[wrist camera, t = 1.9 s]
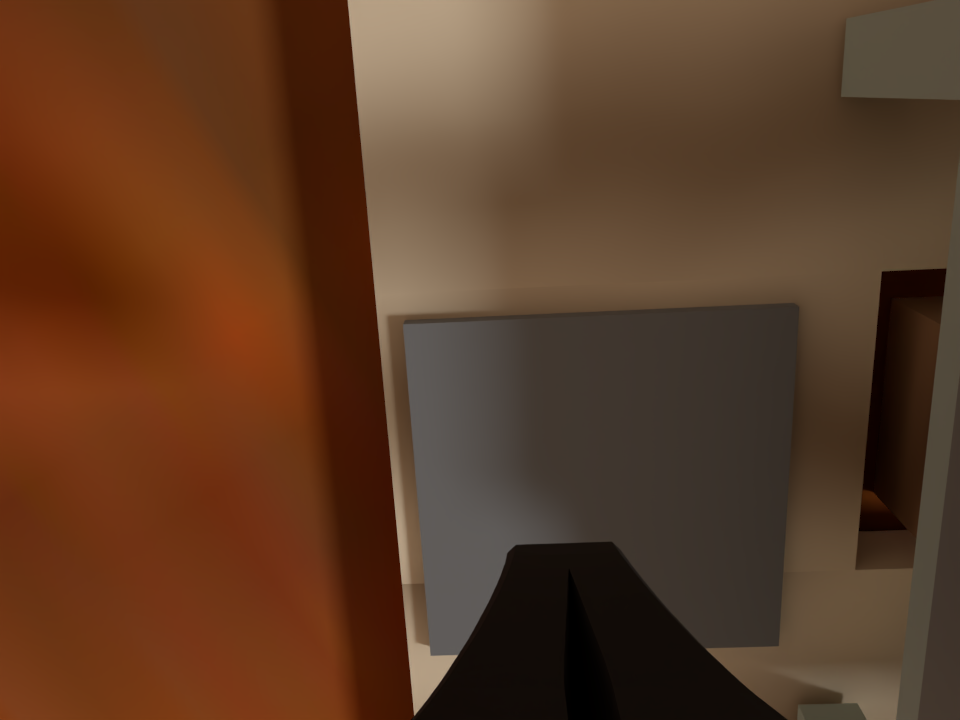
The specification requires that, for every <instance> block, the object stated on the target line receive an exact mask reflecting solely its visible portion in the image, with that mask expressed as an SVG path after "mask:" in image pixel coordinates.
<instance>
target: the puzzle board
mask: <svg viewBox="0 0 960 720" xmlns="http://www.w3.org/2000/svg"><path fill="white" fill-rule="evenodd" d="M929 1H934V0H348V9H349V19H350V30H351V41H352V52H353V62H354V73H355V84H356V95H357V105H358V116H359V127H360V138H361V148H362V159H363V170H364V181H365V192H366V202H367V213H368V224H369V235H370V245H371V256H372V267H373V278H374V288H375V299H376V310H377V321H378V331H379V342H380V353H381V364H382V374H383V385H384V396H385V407H386V417H387V428H388V439H389V450H390V460H391V471H392V482H393V493H394V503H395V514H396V525H397V536H398V546H399V557H400V568H401V579H402V589H403V600H404V611H405V622H406V632H407V643H408V654H409V665H410V675H411V686H412V697H413V708H414V716H415V715H416V713H417V712H418V711H419V710H420V708H421V707H422V706H423V704H424V703H425V702H426V701H427V699H428V698H429V697H430V695H431V694H432V693H433V691H434V690H435V689H436V687H437V686H438V684H439V683H440V682H441V680H442V679H443V677H444V676H445V674H446V673H447V671H448V670H449V668H450V667H451V665H452V663H453V662H454V660H455V659H456V657H457V656H458V655H441V656H431V654H430V642H429V630H428V618H427V606H426V594H425V582H424V570H423V558H422V546H421V535H420V523H419V511H418V499H417V487H416V475H415V463H414V451H413V439H412V427H411V415H410V403H409V391H408V379H407V368H406V356H405V344H404V332H403V323H404V321H405V320H419V319H441V318H464V317H486V316H508V315H531V314H553V313H576V312H598V311H620V310H643V309H665V308H688V307H710V306H732V305H755V304H777V303H795V304H796V305H798V306H799V322H798V338H797V355H796V371H795V388H794V404H793V421H792V437H791V454H790V470H789V487H788V503H787V520H786V536H785V553H784V569H783V586H782V602H781V619H780V635H779V646H772V647H736V648H705V649H706V650H707V651H708V652H709V653H710V654H711V655H712V656H714V657H715V658H716V659H717V660H718V661H719V662H720V663H721V664H722V665H723V666H724V667H725V668H726V669H727V670H728V671H730V672H731V673H732V674H733V675H734V676H735V677H736V678H737V679H738V680H739V681H740V682H741V683H743V684H744V685H745V686H746V687H747V688H748V689H749V690H751V691H752V692H753V693H754V694H755V695H757V696H758V697H759V698H761V699H762V700H763V701H764V702H766V703H767V704H768V705H770V706H771V707H772V708H773V709H775V710H776V711H777V712H779V713H780V714H781V715H782V716H784V717H785V718H786V719H788V720H797V714H798V705H799V704H840V703H858V705H859V707H860V709H861V710H862V712H863V714H864V716H865V717H866V719H867V720H896V715H897V707H898V698H899V689H900V680H901V671H902V662H903V653H904V644H905V636H906V627H907V618H908V609H909V600H910V591H911V582H912V573H913V564H914V556H915V547H916V538H915V537H914V536H913V535H912V534H911V533H910V532H909V531H908V530H889V531H859V521H860V510H861V499H862V488H863V476H864V465H865V454H866V443H867V432H868V420H869V409H870V398H871V387H872V376H873V364H874V353H875V342H876V331H877V320H878V309H879V297H880V286H881V275H882V271H900V270H922V269H943V268H947V262H948V254H949V245H950V236H951V227H952V218H953V209H954V200H955V191H956V182H957V174H958V165H959V156H960V100H943V99H905V98H866V97H841V88H842V74H843V60H844V46H845V31H846V18H851V17H856V16H860V15H865V14H870V13H875V12H880V11H885V10H890V9H895V8H899V7H904V6H909V5H914V4H919V3H924V2H929Z"/></svg>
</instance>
